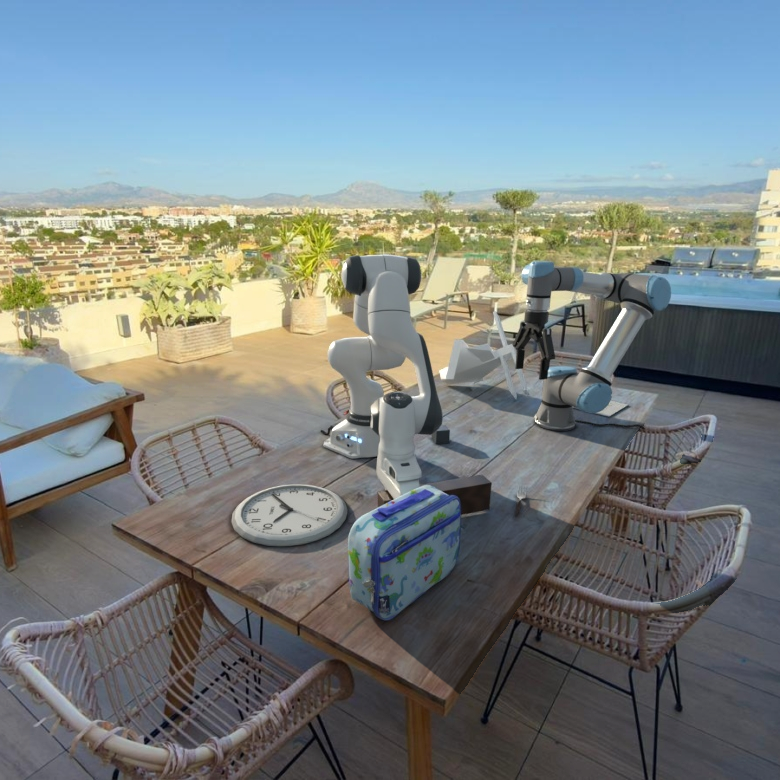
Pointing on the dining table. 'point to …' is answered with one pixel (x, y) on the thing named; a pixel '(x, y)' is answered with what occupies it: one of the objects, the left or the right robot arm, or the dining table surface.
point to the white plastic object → (481, 362)
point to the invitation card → (611, 408)
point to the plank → (458, 492)
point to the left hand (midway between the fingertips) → (395, 508)
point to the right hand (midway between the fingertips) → (530, 373)
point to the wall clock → (289, 515)
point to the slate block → (441, 435)
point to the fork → (520, 496)
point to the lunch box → (403, 549)
